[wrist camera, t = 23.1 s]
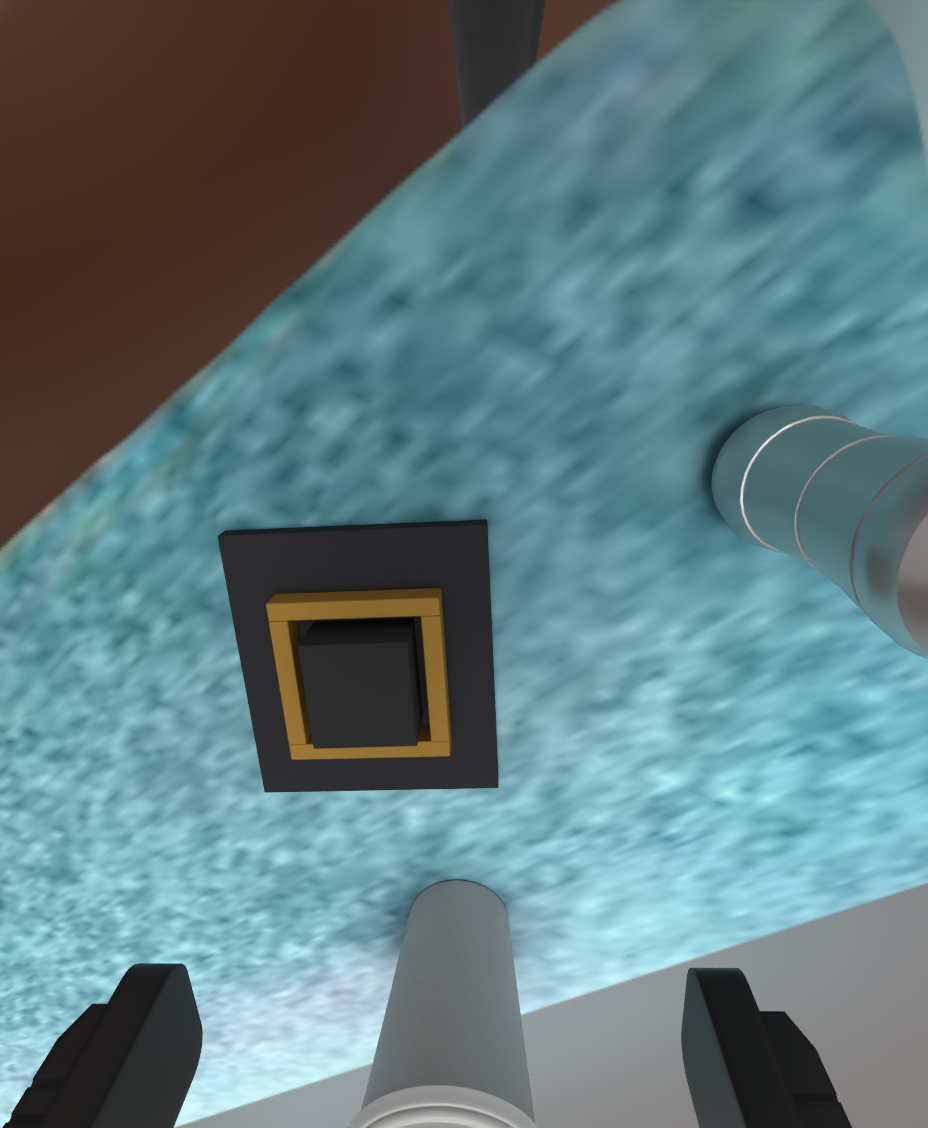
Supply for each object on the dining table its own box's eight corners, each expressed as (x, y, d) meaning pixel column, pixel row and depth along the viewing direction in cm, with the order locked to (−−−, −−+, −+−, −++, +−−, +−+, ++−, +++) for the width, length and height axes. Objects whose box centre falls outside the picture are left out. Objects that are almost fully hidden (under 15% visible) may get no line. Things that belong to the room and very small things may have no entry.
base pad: (224, 530, 33) (204, 544, 31) (487, 519, 33) (486, 532, 30) (270, 781, 39) (255, 809, 36) (498, 777, 38) (498, 805, 35)
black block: (312, 621, 34) (296, 645, 31) (414, 617, 34) (407, 641, 31) (327, 718, 36) (313, 749, 33) (423, 715, 35) (417, 746, 33)
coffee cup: (359, 928, 42) (292, 1222, 28) (439, 836, 39) (411, 1109, 25) (475, 992, 43) (469, 1303, 29) (561, 908, 41) (598, 1204, 27)
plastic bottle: (674, 504, 32) (941, 721, 13) (743, 377, 30) (1178, 416, 11) (785, 552, 33) (1194, 826, 14) (860, 430, 31) (1464, 554, 12)
